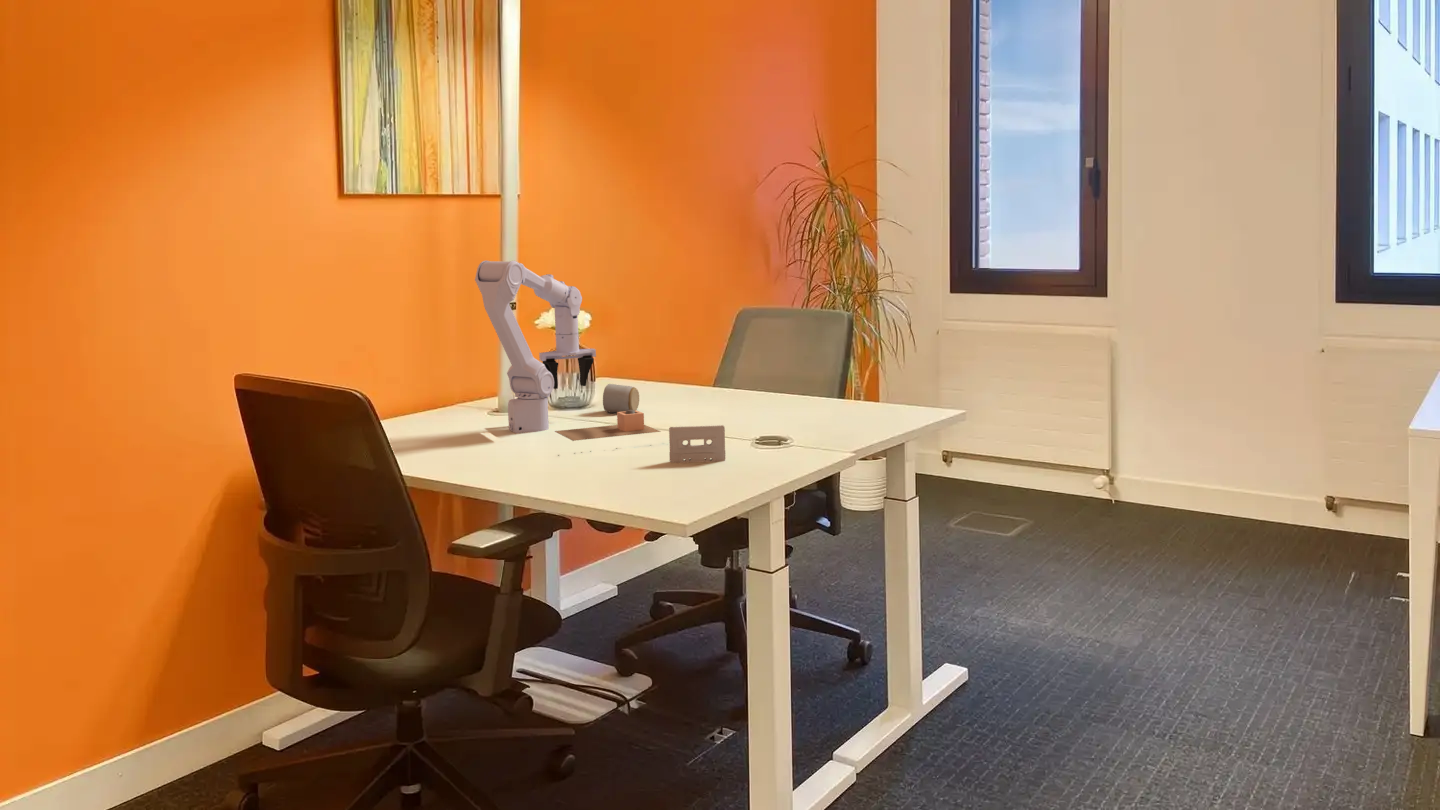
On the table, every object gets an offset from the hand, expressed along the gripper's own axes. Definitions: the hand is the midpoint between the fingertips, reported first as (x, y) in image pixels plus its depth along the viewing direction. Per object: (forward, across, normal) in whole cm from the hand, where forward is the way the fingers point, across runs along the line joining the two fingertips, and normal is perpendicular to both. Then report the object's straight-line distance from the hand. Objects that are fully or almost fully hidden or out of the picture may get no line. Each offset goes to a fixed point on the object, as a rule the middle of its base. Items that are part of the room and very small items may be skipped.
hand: (569, 387), depth 312 cm
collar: (+8, +7, -21) cm, 24 cm away
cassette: (+10, +5, -60) cm, 61 cm away
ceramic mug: (+10, +19, +9) cm, 23 cm away
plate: (+9, +1, -21) cm, 23 cm away
